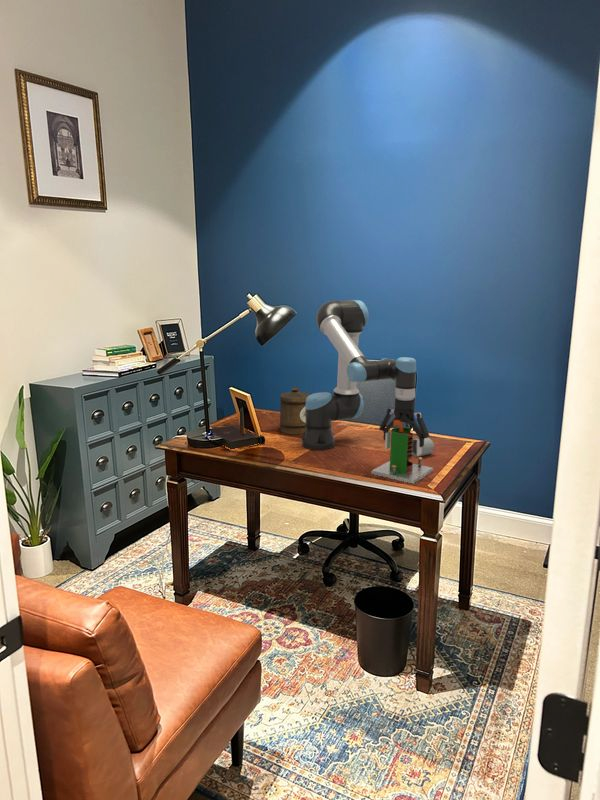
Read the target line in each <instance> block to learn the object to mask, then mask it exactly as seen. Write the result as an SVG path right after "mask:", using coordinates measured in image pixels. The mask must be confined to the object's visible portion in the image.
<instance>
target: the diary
mask: <svg viewBox="0 0 600 800" xmlns="http://www.w3.org/2000/svg"><path fill="white" fill-rule="evenodd" d="M240 426H241V425H239V424H233V425H232V424H231V425H223V426H222V425H221V426H217V427H211V428H210V429H211V430H212V431H211V432H213V434H214V435H216V436H219V437H221V438H223V440H222V441H221V442H223V445H224V446H226V447H228V448H230V449H235V448H239V447H243V446H248V445H254V444H258V443H259V444H260V443H261V442H262V443H263V444H262V443H261V444H262V445H265V443H266V437H265V436H264V435H262V434H260V436H258V435H255V434H253V433H248V432H247V433H246V434H245V435H244V436H241V435H240ZM259 444H258V445H259ZM261 444H260V445H261Z"/></svg>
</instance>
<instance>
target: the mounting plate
mask: <svg viewBox="0 0 600 800" xmlns="http://www.w3.org/2000/svg"><path fill="white" fill-rule="evenodd" d="M417 460H418V464H416V463H413V470H412V471H410V472H406V473H398V472H396V467H397V465H392V467H393V471H392V470H390V460H389V461H387V462H384V463H383V464H381V465H380V466H377V467H375V468H374V469H372V470H371V475H373V474H374V475H373V476H377V475H378V476H377V477H381V476H383V477H382V478H386V477H388V478H387V479H390V478H391V479H392V480H394V479H395V480H394V481H400V482H403V481H404V483H407V482H408V483H407V484H411V483H412V485H414V484H416V483H417V482H418V481H421V480H423V478H426V476H428V475H429V474H431V473H433V472H434V467H431V466H426V465H422V463H423V462H422V460H423V456H419V457H417ZM415 482H416V483H415Z"/></svg>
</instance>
